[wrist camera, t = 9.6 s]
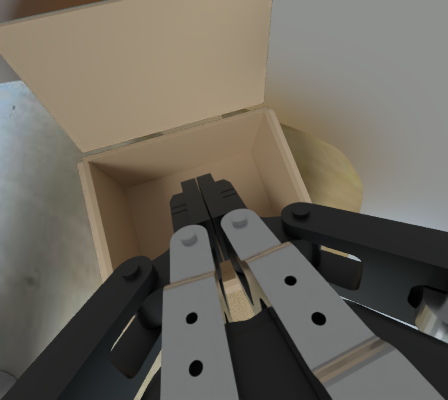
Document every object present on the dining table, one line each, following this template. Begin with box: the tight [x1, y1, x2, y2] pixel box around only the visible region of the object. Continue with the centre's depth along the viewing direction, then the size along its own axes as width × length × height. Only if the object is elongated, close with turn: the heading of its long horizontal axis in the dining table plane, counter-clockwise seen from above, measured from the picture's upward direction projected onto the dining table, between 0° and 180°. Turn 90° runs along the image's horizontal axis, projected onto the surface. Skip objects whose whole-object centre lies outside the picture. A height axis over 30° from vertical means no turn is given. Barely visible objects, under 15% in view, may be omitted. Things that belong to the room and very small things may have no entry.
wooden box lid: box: [0, 0, 272, 153], centre depth 23 cm, size 12×21×1 cm
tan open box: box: [77, 107, 326, 331], centre depth 32 cm, size 19×23×12 cm
